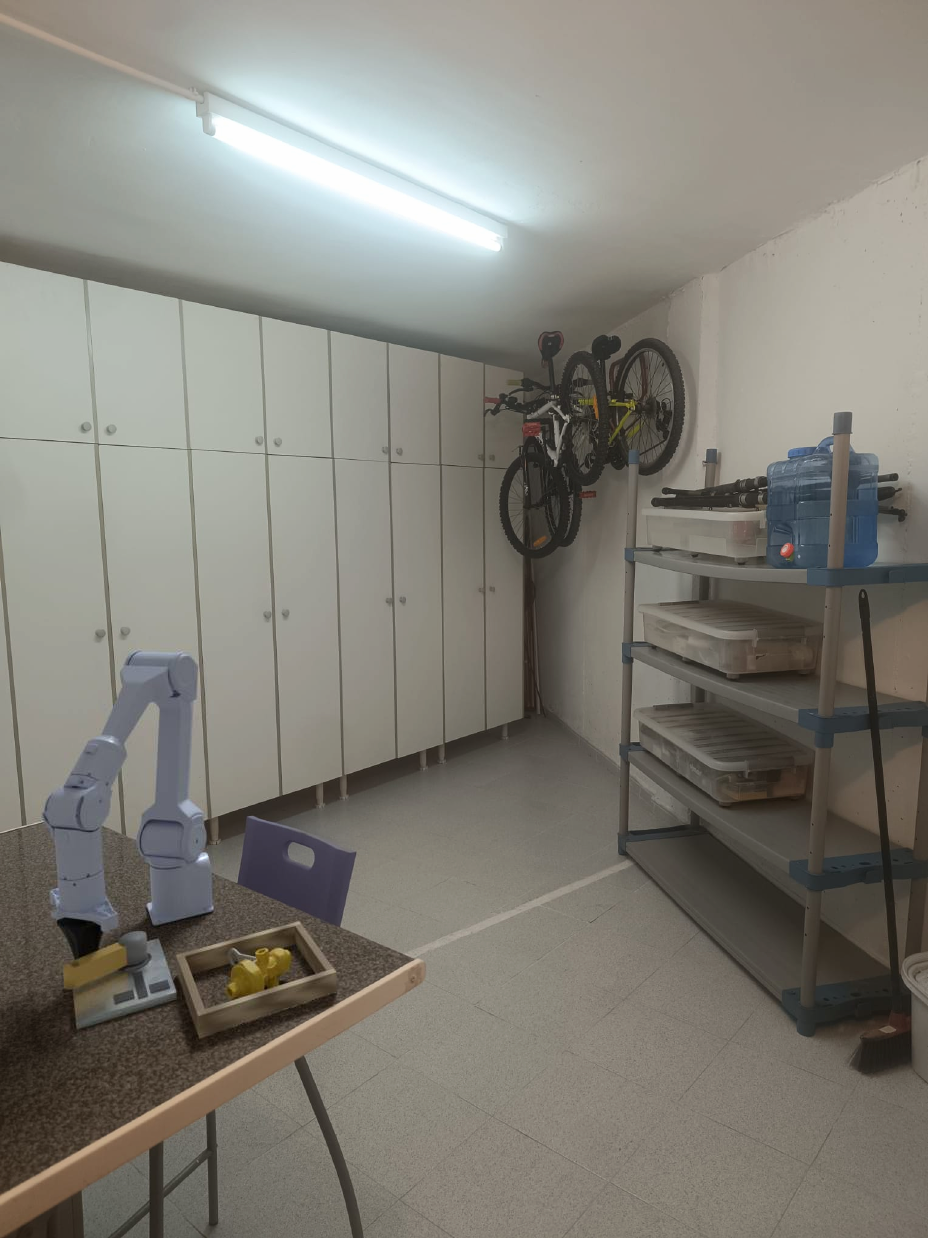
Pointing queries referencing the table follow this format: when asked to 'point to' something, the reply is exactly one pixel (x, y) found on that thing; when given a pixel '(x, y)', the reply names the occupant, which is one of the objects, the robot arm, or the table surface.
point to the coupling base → (125, 989)
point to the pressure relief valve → (257, 971)
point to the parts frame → (262, 1001)
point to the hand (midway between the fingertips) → (86, 964)
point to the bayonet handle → (106, 960)
